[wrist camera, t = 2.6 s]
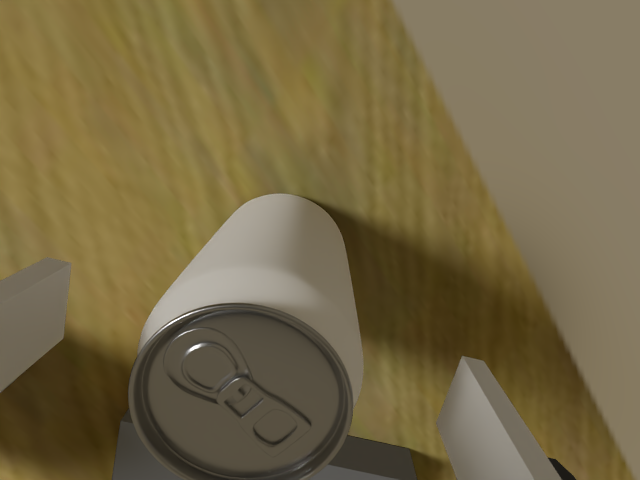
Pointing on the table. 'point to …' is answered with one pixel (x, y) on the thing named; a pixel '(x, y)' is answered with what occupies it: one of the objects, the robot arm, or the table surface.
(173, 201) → the table surface
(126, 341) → the table surface
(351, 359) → the can
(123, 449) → the socket block
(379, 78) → the table surface
